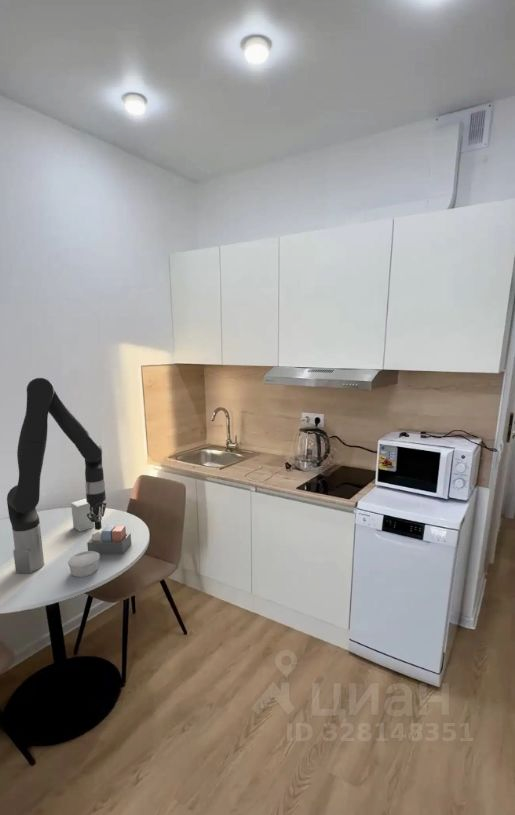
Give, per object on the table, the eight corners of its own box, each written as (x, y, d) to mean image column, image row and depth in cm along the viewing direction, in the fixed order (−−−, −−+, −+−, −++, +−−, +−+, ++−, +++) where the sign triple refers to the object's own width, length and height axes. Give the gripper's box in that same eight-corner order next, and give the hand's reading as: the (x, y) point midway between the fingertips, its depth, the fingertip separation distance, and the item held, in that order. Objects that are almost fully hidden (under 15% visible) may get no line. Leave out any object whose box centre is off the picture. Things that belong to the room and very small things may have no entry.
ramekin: (95, 559, 159) (94, 547, 158) (104, 571, 150) (103, 559, 149) (66, 569, 152) (64, 557, 151) (73, 583, 143) (72, 569, 142)
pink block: (121, 542, 163) (120, 531, 162) (112, 542, 164) (111, 531, 163) (126, 536, 168) (125, 525, 167) (117, 536, 168) (116, 525, 168)
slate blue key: (111, 542, 164) (110, 531, 163) (102, 542, 164) (101, 530, 163) (116, 536, 169) (115, 525, 168) (107, 536, 169) (106, 525, 168)
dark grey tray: (123, 554, 162) (122, 543, 161) (88, 553, 163) (87, 542, 162) (131, 543, 171) (130, 532, 170) (98, 542, 172) (97, 532, 171)
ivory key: (101, 545, 164) (100, 534, 163) (92, 545, 164) (91, 534, 164) (106, 539, 169) (105, 528, 168) (98, 539, 169) (97, 528, 168)
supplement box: (95, 526, 187) (92, 501, 185) (79, 532, 182) (77, 506, 180) (88, 522, 192) (86, 497, 190) (72, 527, 187) (70, 502, 185)
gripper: (96, 496, 156) (99, 536, 159) (111, 484, 169) (113, 522, 172) (78, 496, 157) (81, 536, 159) (94, 484, 170) (97, 521, 172)
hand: (98, 529), depth 165 cm, fingers closed
